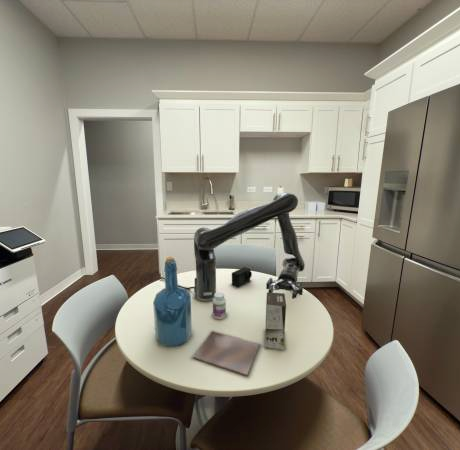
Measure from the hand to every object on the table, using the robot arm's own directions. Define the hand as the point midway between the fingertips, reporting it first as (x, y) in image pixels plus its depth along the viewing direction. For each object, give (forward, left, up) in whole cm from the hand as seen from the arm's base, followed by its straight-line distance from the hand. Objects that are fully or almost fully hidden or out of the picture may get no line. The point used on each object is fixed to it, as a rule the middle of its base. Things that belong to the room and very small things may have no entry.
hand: (281, 294), depth 95 cm
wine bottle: (-34, -23, -12) cm, 43 cm away
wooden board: (-13, -23, -12) cm, 29 cm away
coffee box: (0, -11, -12) cm, 16 cm away
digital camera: (-25, +27, -12) cm, 39 cm away
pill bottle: (-24, -5, -12) cm, 28 cm away
